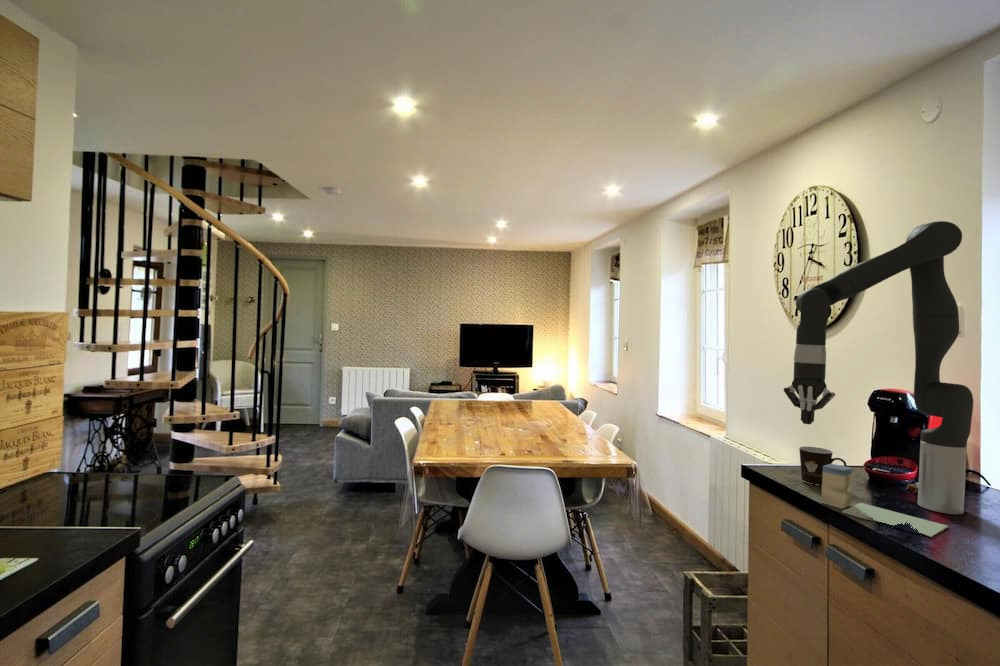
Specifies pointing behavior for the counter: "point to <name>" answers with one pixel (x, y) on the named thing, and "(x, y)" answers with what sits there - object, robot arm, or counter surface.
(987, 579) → the counter surface
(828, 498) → the maple block
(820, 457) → the coffee mug
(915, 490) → the wrapped sandwich
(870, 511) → the green mat
